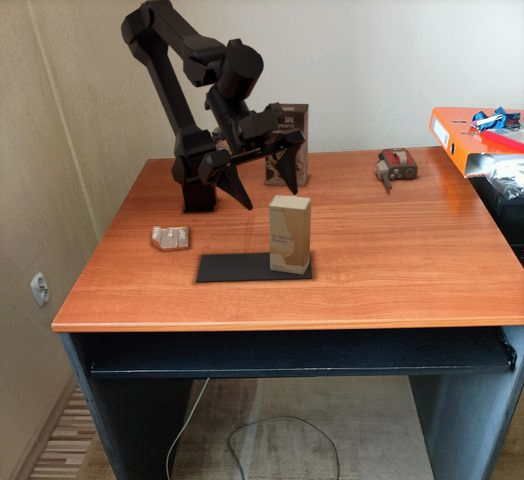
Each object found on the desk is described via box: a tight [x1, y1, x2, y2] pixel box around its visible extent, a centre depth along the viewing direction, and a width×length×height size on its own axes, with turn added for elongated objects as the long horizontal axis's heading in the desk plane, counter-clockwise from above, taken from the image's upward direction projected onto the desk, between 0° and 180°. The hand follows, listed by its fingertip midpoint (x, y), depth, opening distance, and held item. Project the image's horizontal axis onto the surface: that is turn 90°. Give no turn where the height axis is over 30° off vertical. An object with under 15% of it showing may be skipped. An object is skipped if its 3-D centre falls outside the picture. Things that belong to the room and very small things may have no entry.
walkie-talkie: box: [375, 147, 419, 191], centre depth 117 cm, size 9×4×20 cm
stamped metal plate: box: [151, 225, 190, 252], centre depth 101 cm, size 8×7×2 cm
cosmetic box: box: [268, 194, 313, 274], centre depth 87 cm, size 6×4×12 cm
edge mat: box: [195, 251, 313, 284], centre depth 92 cm, size 20×9×1 cm, turn 88°
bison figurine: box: [210, 125, 232, 155], centre depth 121 cm, size 12×7×10 cm, turn 176°
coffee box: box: [262, 102, 310, 187], centre depth 115 cm, size 9×6×16 cm
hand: (274, 201), depth 86 cm, fingers open, 9 cm apart
